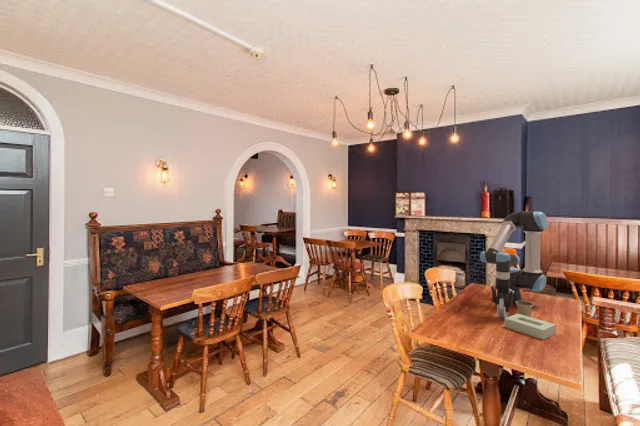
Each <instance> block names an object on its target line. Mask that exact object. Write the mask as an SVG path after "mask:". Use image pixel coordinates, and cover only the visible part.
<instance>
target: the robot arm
mask: <svg viewBox="0 0 640 426" xmlns="http://www.w3.org/2000/svg"><path fill="white" fill-rule="evenodd" d="M547 227H548V218H547V216H546V214H545V213H544V212H542V211H525V210H524V211H521V210H518V211H517V210H516V211H514V212H512V213H510V214H508V215H507V216H506V217H505V218H504V219H503V220H502V222H501V224H500V228H499V230H498V232H497V233H496V235H495V236H494V238H493V240H492V242H491V244H489V247H488V248H487V249H486V250H483V251H480V254H479V259H480V261H481V262H482V263H486V264H492V265H495V285H492V286H490V290H491V296H492V298H491V300H492V303H494V304H495V309H496V316H499V298H504V301H505V306H504V317H506V318H507V317H509V316H508V314H509V312H510V308H511V307H513V305H514V304H516V301H524V299H523V295H522V292H521V289H523V290H530V291H533V292H534V291H535V292H541V291H543V290H544V289H545V286H546V283H547V277H546V275H545V274H544V273H543V270H542V269H541V240H542V239H541V235H542V234H543V233H544V231H545V230H546V229H547ZM519 228H520V229H522V231H523V233H525V239H524V240H525V242H524V246H525V247H524V248H525V249H524V251H525V253H524V255H525V256H524V268H522V269H520V268H519V267H516V266H519V264H520V263H521V258H520V257H519V256H518V255H517V254H516V253H508V252H502V251H503V249H504V248H505V246H506V244H507V242H508V240H509V239H510V237H511V235H512V233H513V232H514V231H516V230H517V229H519Z"/></svg>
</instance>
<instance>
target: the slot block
mask: <svg viewBox="0 0 640 426" xmlns="http://www.w3.org/2000/svg"><path fill="white" fill-rule="evenodd" d="M504 328H507V329H511V330H513V331H516V332H519V333H522V334H525V335H527V336H531V337H534V338H537V339H540V340H546V339H548V338H550V337H552V336H554V335H556V334H557V324H555V323H552V322H548V321H546V320H541V319H538V318H536V317H535V318H534V317H528V316H525V315H521V314H518V313H515V314H513V315H510V316H508V317H506V318H505V319H504Z"/></svg>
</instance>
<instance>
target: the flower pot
mask: <svg viewBox="0 0 640 426" xmlns="http://www.w3.org/2000/svg"><path fill="white" fill-rule="evenodd" d="M515 304H516V306H517V307H516V308H517V314H521V315H525V316H528V317H531V315H532V309H533V307H534V305H535V304H534V303H533V302H530V301H527V300H526V301H524V300H523V301H516V303H515Z"/></svg>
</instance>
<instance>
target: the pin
mask: <svg viewBox="0 0 640 426" xmlns="http://www.w3.org/2000/svg"><path fill="white" fill-rule="evenodd" d="M504 306H505V301H504V298H499V315H498V319H500V320H505V318H507V317H504Z"/></svg>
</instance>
